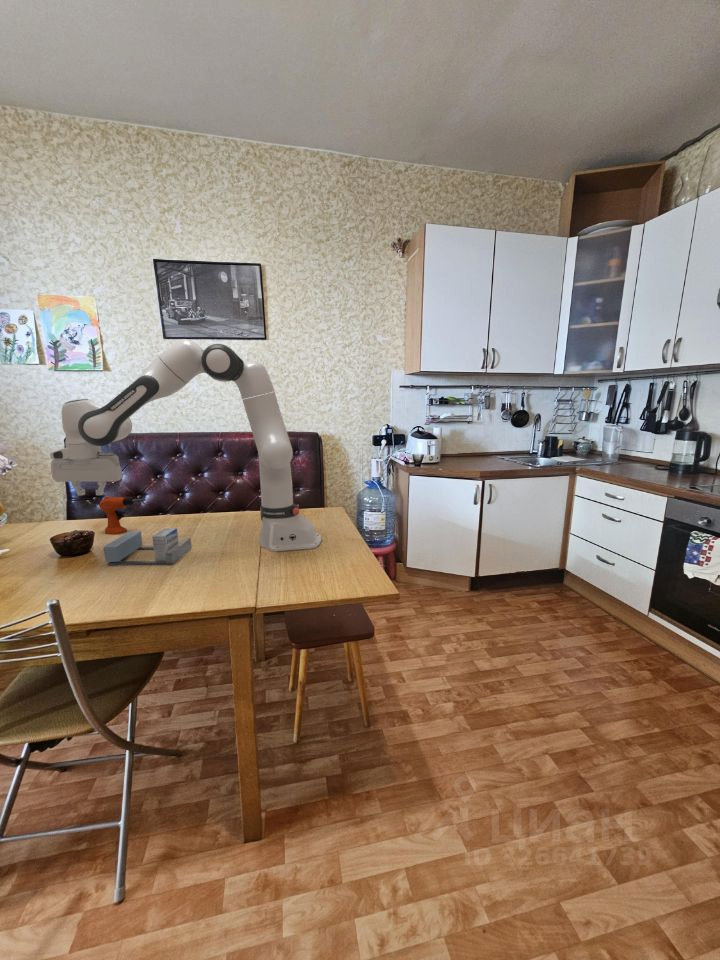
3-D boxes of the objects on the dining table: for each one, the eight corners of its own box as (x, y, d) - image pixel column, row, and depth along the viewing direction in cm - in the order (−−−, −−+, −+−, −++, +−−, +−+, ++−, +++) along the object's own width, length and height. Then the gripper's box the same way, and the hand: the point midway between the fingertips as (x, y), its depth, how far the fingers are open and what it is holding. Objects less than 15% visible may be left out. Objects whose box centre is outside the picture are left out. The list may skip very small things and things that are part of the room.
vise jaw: (142, 545, 135) (140, 531, 134) (118, 561, 122) (116, 546, 121) (131, 545, 135) (129, 531, 134) (105, 561, 122) (103, 546, 121)
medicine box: (168, 561, 125) (165, 536, 123) (154, 561, 125) (151, 535, 123) (179, 552, 133) (177, 527, 131) (167, 551, 133) (164, 527, 131)
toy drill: (148, 531, 149) (139, 493, 146) (102, 536, 150) (92, 499, 147) (156, 527, 154) (147, 490, 151) (111, 532, 155) (101, 496, 152)
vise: (191, 548, 136) (190, 537, 135) (172, 565, 122) (171, 553, 121) (132, 548, 136) (131, 537, 135) (107, 565, 122) (105, 553, 121)
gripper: (123, 450, 125) (128, 492, 128) (59, 450, 125) (66, 492, 127) (111, 453, 119) (117, 497, 121) (44, 453, 118) (51, 497, 121)
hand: (90, 494), depth 124 cm, fingers open, 5 cm apart
